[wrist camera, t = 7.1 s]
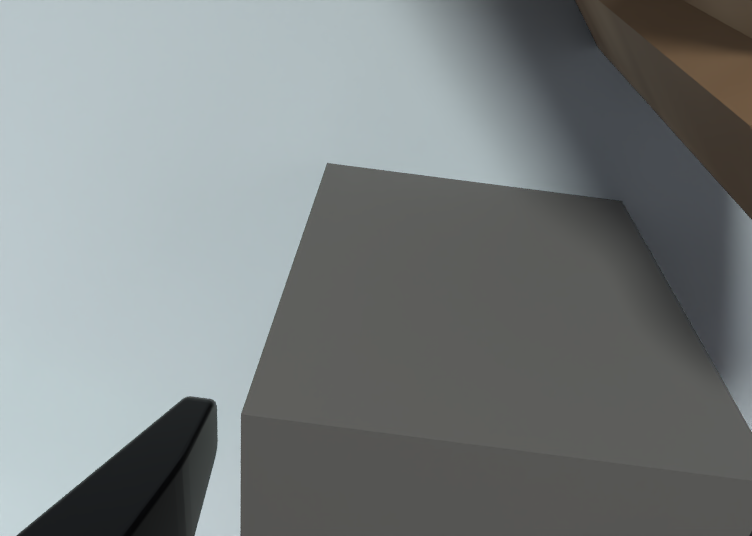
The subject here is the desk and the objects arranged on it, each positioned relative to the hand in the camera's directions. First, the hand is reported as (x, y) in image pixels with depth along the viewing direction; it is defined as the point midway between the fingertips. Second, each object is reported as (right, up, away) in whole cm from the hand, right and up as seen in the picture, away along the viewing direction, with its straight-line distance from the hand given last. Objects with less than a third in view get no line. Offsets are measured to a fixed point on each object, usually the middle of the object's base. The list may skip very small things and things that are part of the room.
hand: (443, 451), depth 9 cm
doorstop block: (0, +1, +2) cm, 3 cm away
